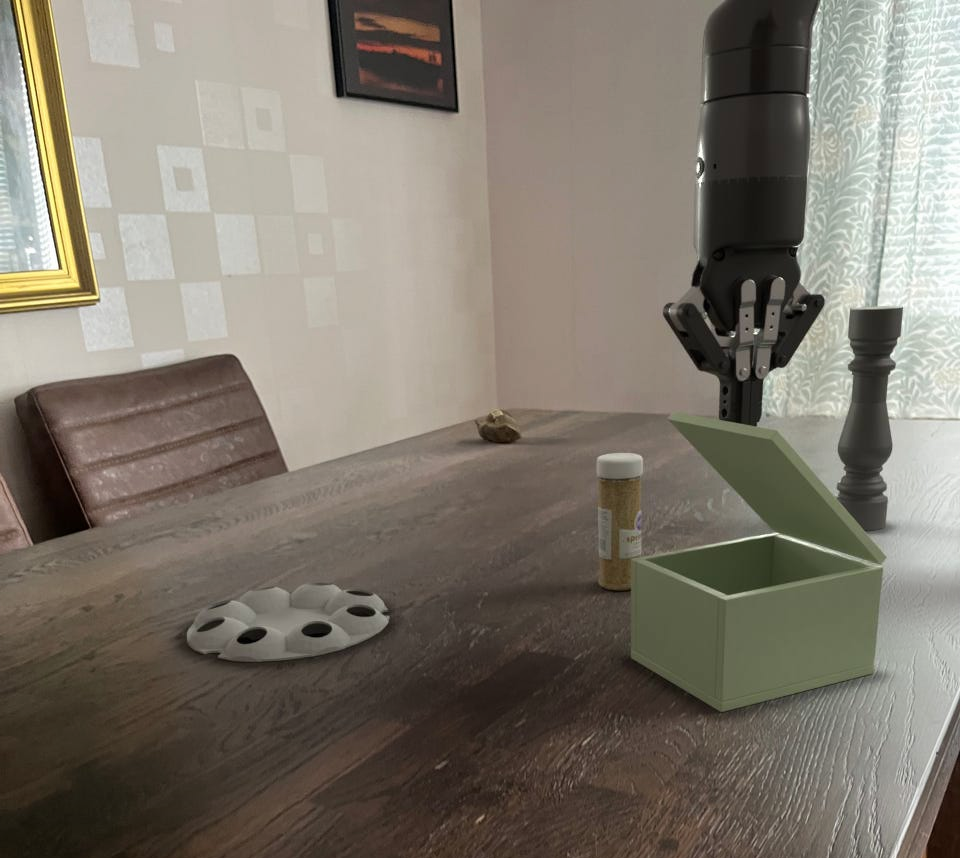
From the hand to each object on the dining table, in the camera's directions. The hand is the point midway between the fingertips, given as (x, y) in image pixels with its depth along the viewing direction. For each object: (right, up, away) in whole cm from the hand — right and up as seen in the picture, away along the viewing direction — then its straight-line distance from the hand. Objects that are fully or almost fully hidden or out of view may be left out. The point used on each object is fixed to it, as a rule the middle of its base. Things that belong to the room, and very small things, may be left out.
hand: (739, 430), depth 75 cm
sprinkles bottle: (-5, -10, +29) cm, 31 cm away
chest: (+3, -18, +7) cm, 19 cm away
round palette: (-38, -14, +23) cm, 47 cm away
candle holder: (+27, -2, +47) cm, 54 cm away
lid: (+3, -4, +3) cm, 6 cm away
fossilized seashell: (-16, +22, +117) cm, 120 cm away
